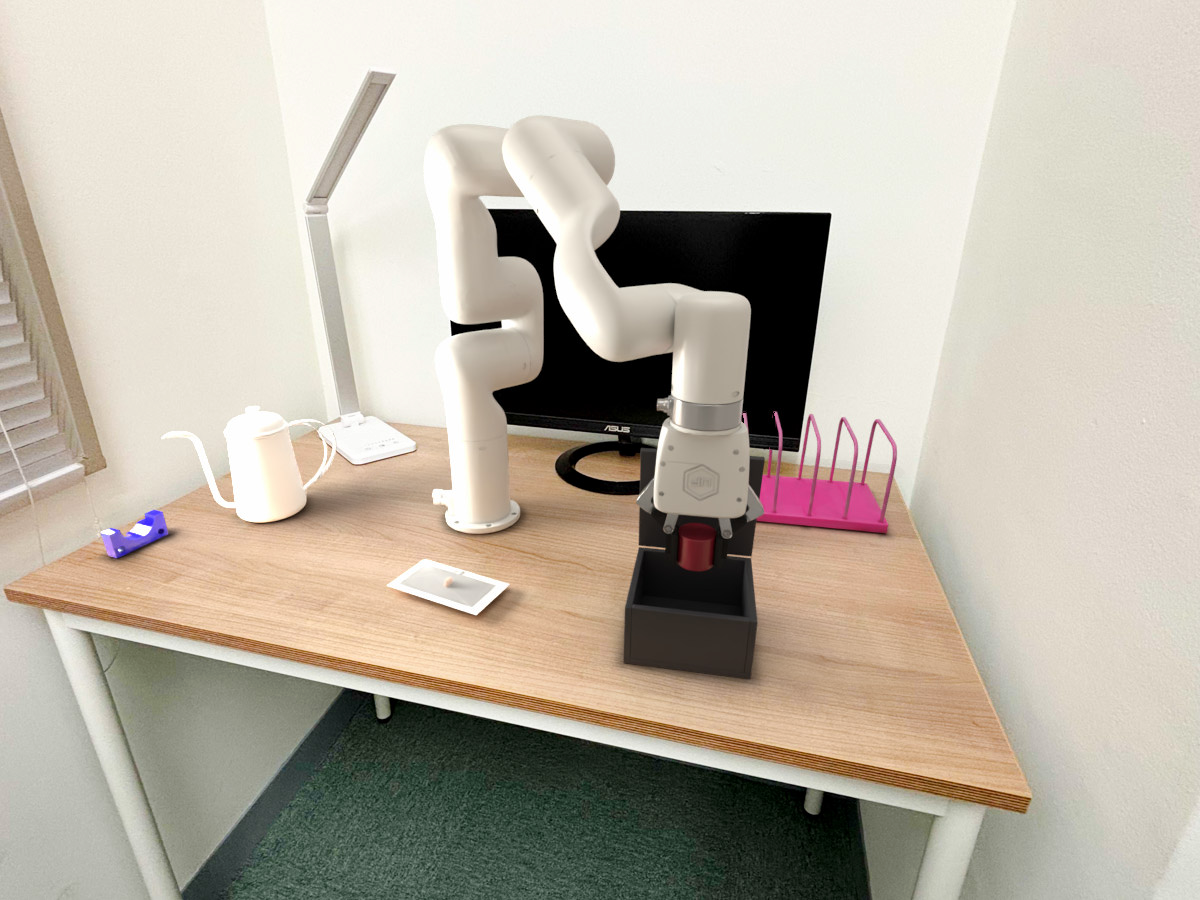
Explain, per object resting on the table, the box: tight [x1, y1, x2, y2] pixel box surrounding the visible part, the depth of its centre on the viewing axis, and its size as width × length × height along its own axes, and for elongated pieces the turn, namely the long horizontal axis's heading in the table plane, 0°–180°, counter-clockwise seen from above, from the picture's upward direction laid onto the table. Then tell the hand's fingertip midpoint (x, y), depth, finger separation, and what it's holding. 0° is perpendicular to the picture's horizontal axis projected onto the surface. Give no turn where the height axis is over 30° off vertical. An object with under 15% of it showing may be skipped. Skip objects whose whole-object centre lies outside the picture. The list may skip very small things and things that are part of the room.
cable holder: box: [100, 509, 170, 559], centre depth 96 cm, size 8×4×4 cm, turn 158°
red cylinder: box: [677, 523, 716, 571], centre depth 72 cm, size 4×4×4 cm
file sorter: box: [742, 411, 898, 534], centre depth 109 cm, size 17×25×16 cm
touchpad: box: [386, 558, 511, 616], centre depth 85 cm, size 8×15×2 cm, turn 65°
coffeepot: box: [161, 405, 337, 523], centre depth 104 cm, size 11×25×19 cm, turn 131°
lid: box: [638, 447, 766, 557], centre depth 79 cm, size 14×15×6 cm
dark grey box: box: [622, 546, 758, 680], centre depth 76 cm, size 14×15×8 cm
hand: (695, 559), depth 72 cm, fingers closed on red cylinder, 4 cm apart
